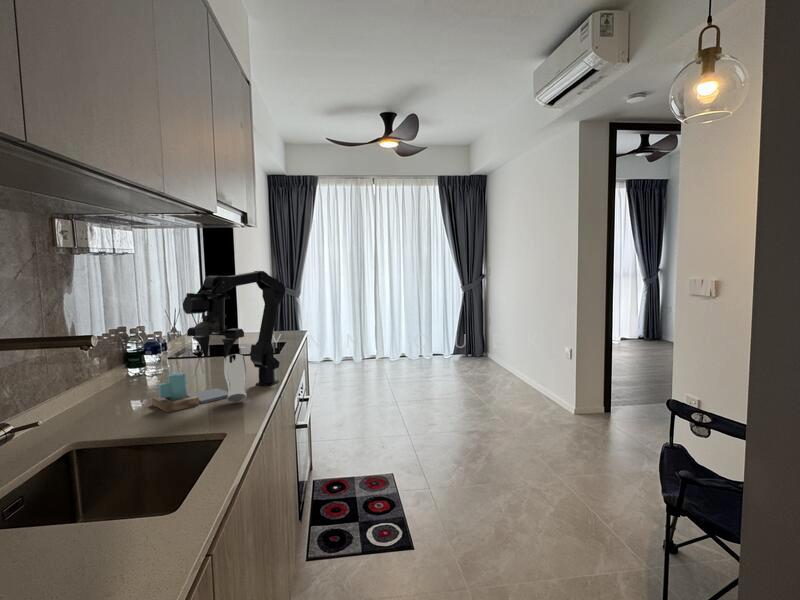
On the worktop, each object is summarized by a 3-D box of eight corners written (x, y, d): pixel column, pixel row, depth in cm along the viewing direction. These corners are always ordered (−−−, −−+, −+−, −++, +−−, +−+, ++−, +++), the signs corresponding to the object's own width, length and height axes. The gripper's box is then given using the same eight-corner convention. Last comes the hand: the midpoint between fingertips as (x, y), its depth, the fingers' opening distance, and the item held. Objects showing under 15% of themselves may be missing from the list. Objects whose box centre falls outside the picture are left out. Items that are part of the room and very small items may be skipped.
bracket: (182, 398, 160) (182, 391, 160) (198, 404, 152) (198, 397, 152) (152, 405, 153) (151, 397, 152) (167, 412, 145) (167, 404, 145)
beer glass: (240, 390, 149) (237, 351, 158) (221, 398, 150) (219, 358, 158) (252, 397, 155) (248, 359, 163) (234, 405, 156) (231, 366, 164)
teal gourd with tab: (183, 401, 157) (181, 371, 156) (190, 404, 153) (188, 374, 153) (157, 406, 151) (155, 376, 150) (163, 410, 147) (162, 379, 146)
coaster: (216, 390, 169) (216, 388, 169) (232, 396, 162) (232, 393, 162) (186, 397, 161) (186, 394, 161) (201, 403, 153) (201, 400, 153)
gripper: (175, 313, 153) (176, 359, 154) (226, 315, 149) (226, 363, 150) (197, 310, 164) (197, 354, 165) (245, 312, 160) (244, 357, 161)
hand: (215, 357), depth 160 cm, fingers open, 7 cm apart
